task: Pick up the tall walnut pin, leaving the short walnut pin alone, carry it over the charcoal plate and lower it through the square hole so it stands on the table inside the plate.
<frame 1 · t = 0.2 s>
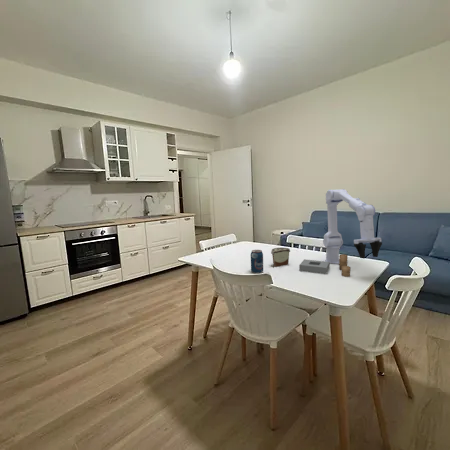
hand: (368, 257, 120), 11 cm above the table, tool pointing down, fingers open, 7 cm apart
tall pin: (343, 269, 136), on the table
soda can: (257, 271, 138), on the table
hole plate: (314, 269, 138), on the table
short pin: (345, 275, 126), on the table
food container: (278, 265, 149), on the table
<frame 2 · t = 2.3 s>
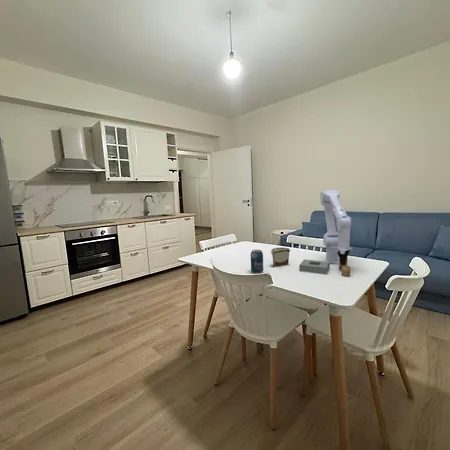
hand: (343, 263, 136), 3 cm above the table, tool pointing down, fingers closed on tall pin, 4 cm apart
tall pin: (343, 269, 136), on the table, touching gripper
everything else where it was.
when the fingers open (5 cm above the table, at t = 6.1 s): tall pin drops 2 cm, resting in hole plate.
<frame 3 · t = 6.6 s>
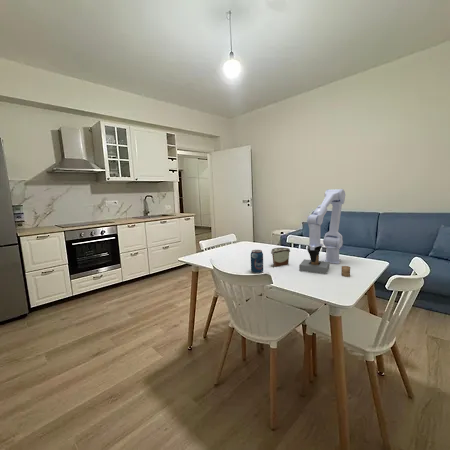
hand: (314, 260, 137), 5 cm above the table, tool pointing down, fingers open, 7 cm apart
tall pin: (314, 269, 138), resting in hole plate
everything else where it was.
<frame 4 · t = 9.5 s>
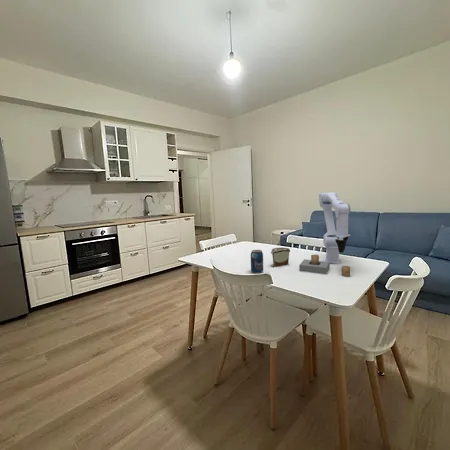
hand: (341, 251, 135), 10 cm above the table, tool pointing down, fingers open, 7 cm apart
nothing on the table moved.
at the end: tall pin 0.2 cm off-centre on the hole plate, point 0.0 cm above the hole plate's base; tall pin tilted 0°; short pin moved 0.1 cm from its start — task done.
